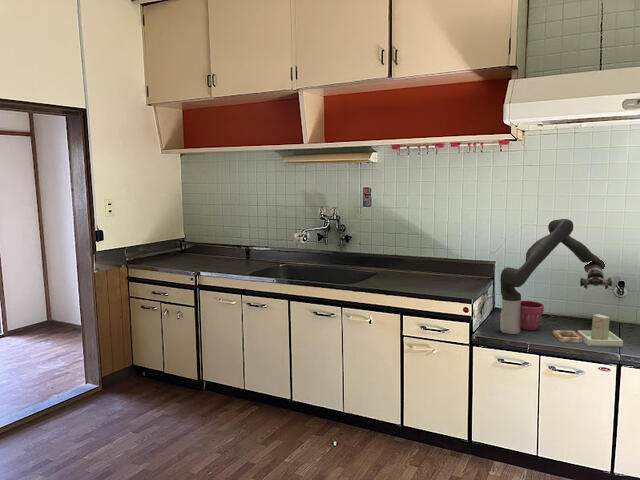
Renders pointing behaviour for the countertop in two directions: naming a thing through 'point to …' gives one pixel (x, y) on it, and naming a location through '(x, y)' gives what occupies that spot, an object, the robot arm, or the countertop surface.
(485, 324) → the countertop surface
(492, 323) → the countertop surface
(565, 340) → the wooden frame
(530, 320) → the plant pot
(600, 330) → the skincare box
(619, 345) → the sage tray
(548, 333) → the countertop surface
